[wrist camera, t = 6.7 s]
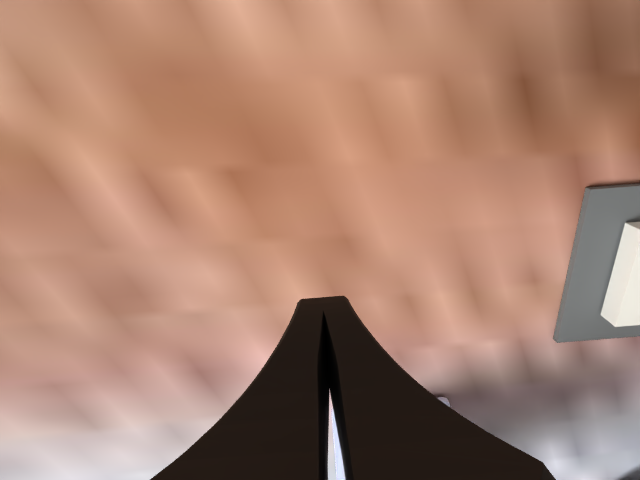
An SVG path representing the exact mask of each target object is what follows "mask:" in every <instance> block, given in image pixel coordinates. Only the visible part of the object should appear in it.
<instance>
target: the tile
mask: <svg viewBox="0 0 640 480" xmlns="http://www.w3.org/2000/svg"><path fill="white" fill-rule="evenodd" d="M601 316H602V317H604V318H605V319H606V320H607V321H608V322H610V323H611V324H612V325H613V326H614V327H621V326H633V325H640V222H629V223H625V225H624V229H623V233H622V237H621V240H620V244H619V248H618V252H617V255H616V259H615V263H614V266H613V270H612V274H611V278H610V281H609V285H608V289H607V292H606V296H605V300H604V304H603V307H602V311H601Z"/></svg>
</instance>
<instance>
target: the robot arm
mask: <svg viewBox="0 0 640 480" xmlns="http://www.w3.org/2000/svg"><path fill="white" fill-rule="evenodd" d="M329 388H330V393H331V399H332V404H333V408H332V411H331V412H332V425H333V437H334V450H335V463H336V476H337V480H556V479H555V478H554V477H553V475H552V474H551V473H550V472H549V470H548V469H547V468H546V466H545V465H544V463H543V462H541V461H539V460H538V459H536V458H534V457H532V456H530V455H528V454H526V453H525V452H523V451H521V450H519V449H517V448H515V447H514V446H512V445H510V444H508V443H506V442H504V441H502V440H501V439H499V438H497V437H495V436H493V435H492V434H490V433H488V432H487V431H485V430H483V429H482V428H480V427H479V426H477V425H475V424H474V423H472V422H471V421H469V420H467V419H466V418H464V417H463V416H461V415H460V414H458V413H457V412H456V411H454V410H453V409H451V408H450V403H449V400H448V399H447V398H445V397H437V398H436V397H435V396H434V395H432V394H431V393H430V392H429V391H427V390H426V389H425V388H424V387H423V386H421V385H420V384H419V383H418V382H417V381H416V380H414V379H413V378H412V377H411V376H410V375H409V374H408V373H407V372H406V371H405V370H403V369H402V368H401V367H400V366H399V365H398V364H397V363H396V362H395V361H394V360H393V359H392V357H391V356H390V355H389V354H388V353H387V352H386V351H385V350H384V349H383V348H382V347H381V345H380V344H379V343H378V342H377V341H376V339H375V338H374V337H373V336H372V334H371V333H370V332H369V331H368V329H367V328H366V327H365V326H364V324H363V323H362V321H361V320H360V319H359V317H358V316H357V314H356V313H355V311H354V309H353V308H352V306H351V304H350V302H349V300H348V299H347V298H346V297H345V296H335V297H322V298H309V299H301V300H300V301H299V302H298V303H297V306H296V309H295V312H294V314H293V316H292V319H291V321H290V323H289V325H288V327H287V329H286V331H285V332H284V334H283V336H282V338H281V340H280V342H279V343H278V345H277V347H276V348H275V350H274V351H273V353H272V355H271V356H270V358H269V359H268V361H267V362H266V364H265V365H264V367H263V368H262V370H261V371H260V372H259V374H258V375H257V377H256V378H255V379H254V381H253V382H252V383H251V384H250V386H249V387H248V388H247V389H246V391H245V392H244V393H243V394H242V395H241V397H240V398H239V399H238V400H237V401H236V402H235V403H234V404H233V406H232V407H231V408H230V409H229V410H228V411H227V412H226V413H225V414H224V415H223V416H222V418H221V419H220V420H219V421H218V422H217V423H216V424H215V425H214V426H213V427H212V428H211V429H209V430H208V431H207V432H206V433H205V434H204V435H203V436H202V437H201V438H200V439H199V440H198V441H196V442H195V443H194V444H193V445H192V446H191V447H190V448H189V449H188V450H187V451H186V452H184V453H183V454H182V455H181V456H180V457H178V458H177V459H176V460H175V461H174V462H172V463H171V464H170V465H168V466H167V467H166V468H165V469H163V470H162V471H161V472H159V473H158V474H157V475H156V476H154V477H153V478H152V479H150V480H328V465H327V464H328V426H329Z"/></svg>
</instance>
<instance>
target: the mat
mask: <svg viewBox="0 0 640 480" xmlns="http://www.w3.org/2000/svg"><path fill="white" fill-rule="evenodd" d="M629 222H640V183H638V184H625V185H612V186H599V187H586V189H585V193H584V198H583V203H582V207H581V212H580V216H579V221H578V226H577V230H576V235H575V240H574V244H573V249H572V254H571V258H570V263H569V267H568V272H567V277H566V281H565V286H564V291H563V295H562V300H561V304H560V309H559V314H558V318H557V323H556V328H555V332H554V337H553V339H554V340H555V341H556V342H557V343H560V342H573V341H585V340H598V339H611V338H623V337H636V336H640V325H633V326H621V327H614V326H613V325H612V324H611V323H610V322H608V321H607V320H606V319H605V318H604V317H602V316H601V311H602V307H603V304H604V300H605V296H606V292H607V289H608V285H609V281H610V278H611V274H612V270H613V266H614V263H615V259H616V255H617V252H618V248H619V244H620V240H621V237H622V233H623V229H624V225H625V223H629Z"/></svg>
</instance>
